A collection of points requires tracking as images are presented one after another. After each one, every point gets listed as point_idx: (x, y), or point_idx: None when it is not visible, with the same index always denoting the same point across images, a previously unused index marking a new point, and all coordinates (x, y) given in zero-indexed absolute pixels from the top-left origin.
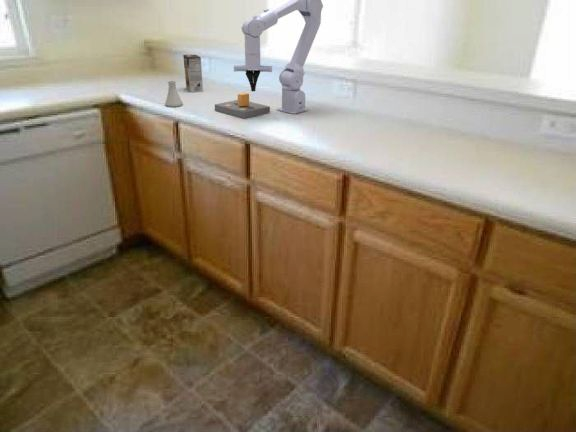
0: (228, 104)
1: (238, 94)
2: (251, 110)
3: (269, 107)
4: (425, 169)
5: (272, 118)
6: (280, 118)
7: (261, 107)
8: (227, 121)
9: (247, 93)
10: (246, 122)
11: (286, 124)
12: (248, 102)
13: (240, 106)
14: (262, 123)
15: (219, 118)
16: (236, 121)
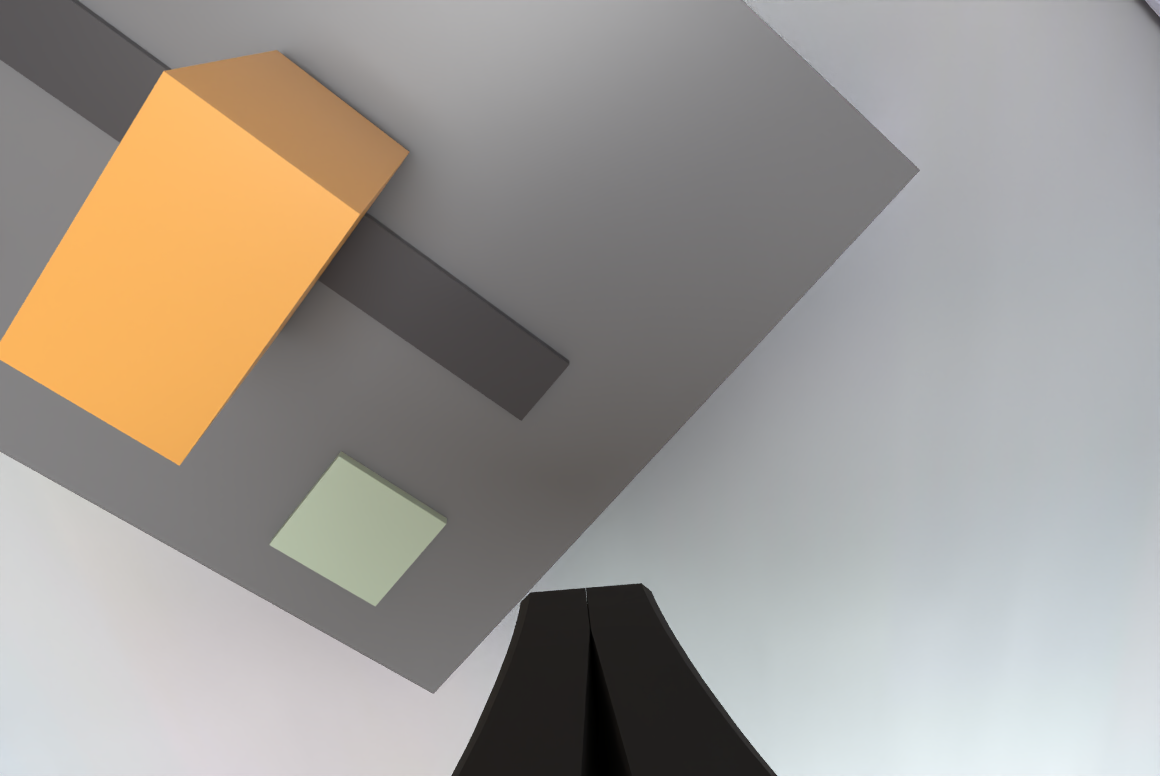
0: None
1: (37, 378)
2: (546, 554)
3: (901, 177)
4: None
5: (901, 522)
6: (1033, 503)
7: (725, 289)
8: (234, 763)
9: (292, 191)
10: None
11: (1079, 761)
12: (383, 187)
13: None
14: None
15: (39, 647)
16: (365, 744)
